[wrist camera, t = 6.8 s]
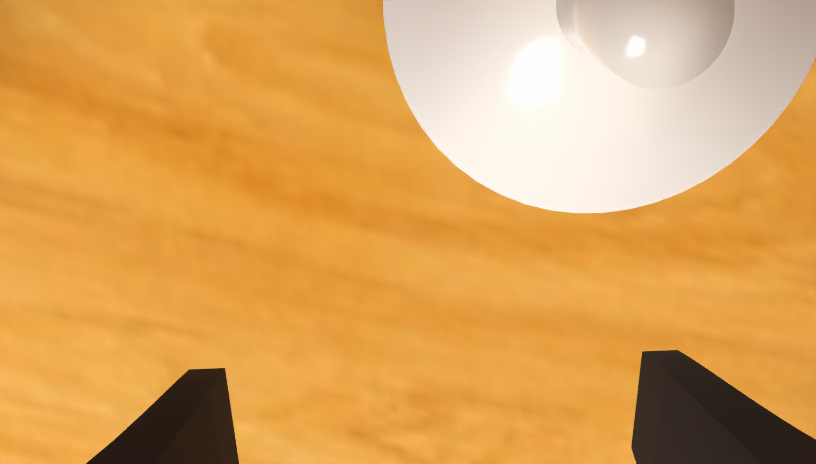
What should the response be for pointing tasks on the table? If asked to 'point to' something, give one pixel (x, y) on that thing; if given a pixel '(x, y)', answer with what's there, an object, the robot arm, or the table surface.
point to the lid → (597, 90)
